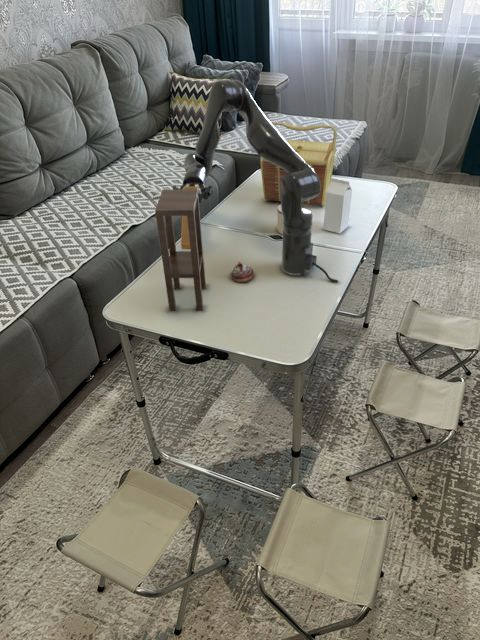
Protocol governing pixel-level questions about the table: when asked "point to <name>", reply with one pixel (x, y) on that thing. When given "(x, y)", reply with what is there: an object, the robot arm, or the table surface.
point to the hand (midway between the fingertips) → (190, 201)
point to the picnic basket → (312, 154)
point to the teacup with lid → (280, 220)
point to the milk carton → (337, 205)
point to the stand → (178, 261)
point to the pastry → (242, 273)
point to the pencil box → (186, 227)
